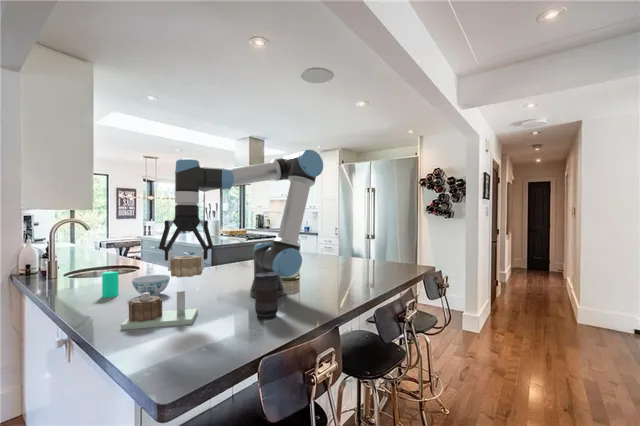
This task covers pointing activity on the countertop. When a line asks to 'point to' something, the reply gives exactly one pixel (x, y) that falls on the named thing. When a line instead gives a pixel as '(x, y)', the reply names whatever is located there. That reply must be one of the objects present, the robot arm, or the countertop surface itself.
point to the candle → (109, 284)
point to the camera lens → (266, 295)
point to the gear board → (165, 315)
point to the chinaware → (151, 284)
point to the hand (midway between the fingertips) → (186, 269)
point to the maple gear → (186, 266)
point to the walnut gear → (145, 309)
